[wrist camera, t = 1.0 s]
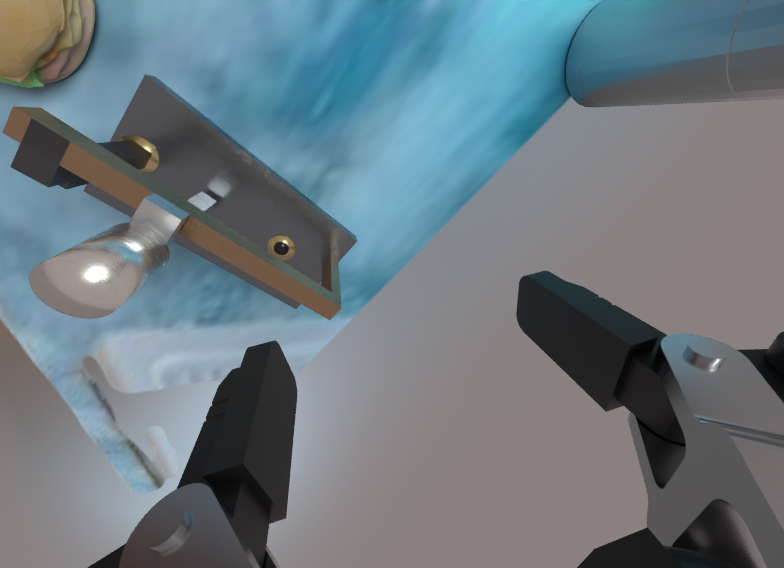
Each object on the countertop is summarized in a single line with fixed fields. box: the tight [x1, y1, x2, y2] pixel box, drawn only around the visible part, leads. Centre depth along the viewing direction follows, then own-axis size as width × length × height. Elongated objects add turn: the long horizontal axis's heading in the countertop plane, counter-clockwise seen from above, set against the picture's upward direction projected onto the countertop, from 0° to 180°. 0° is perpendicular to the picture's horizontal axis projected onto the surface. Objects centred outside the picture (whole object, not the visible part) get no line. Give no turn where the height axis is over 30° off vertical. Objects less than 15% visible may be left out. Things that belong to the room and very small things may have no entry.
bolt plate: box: [3, 74, 357, 320], centre depth 25 cm, size 12×22×12 cm, turn 46°
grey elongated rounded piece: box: [29, 192, 217, 318], centre depth 20 cm, size 5×3×17 cm
